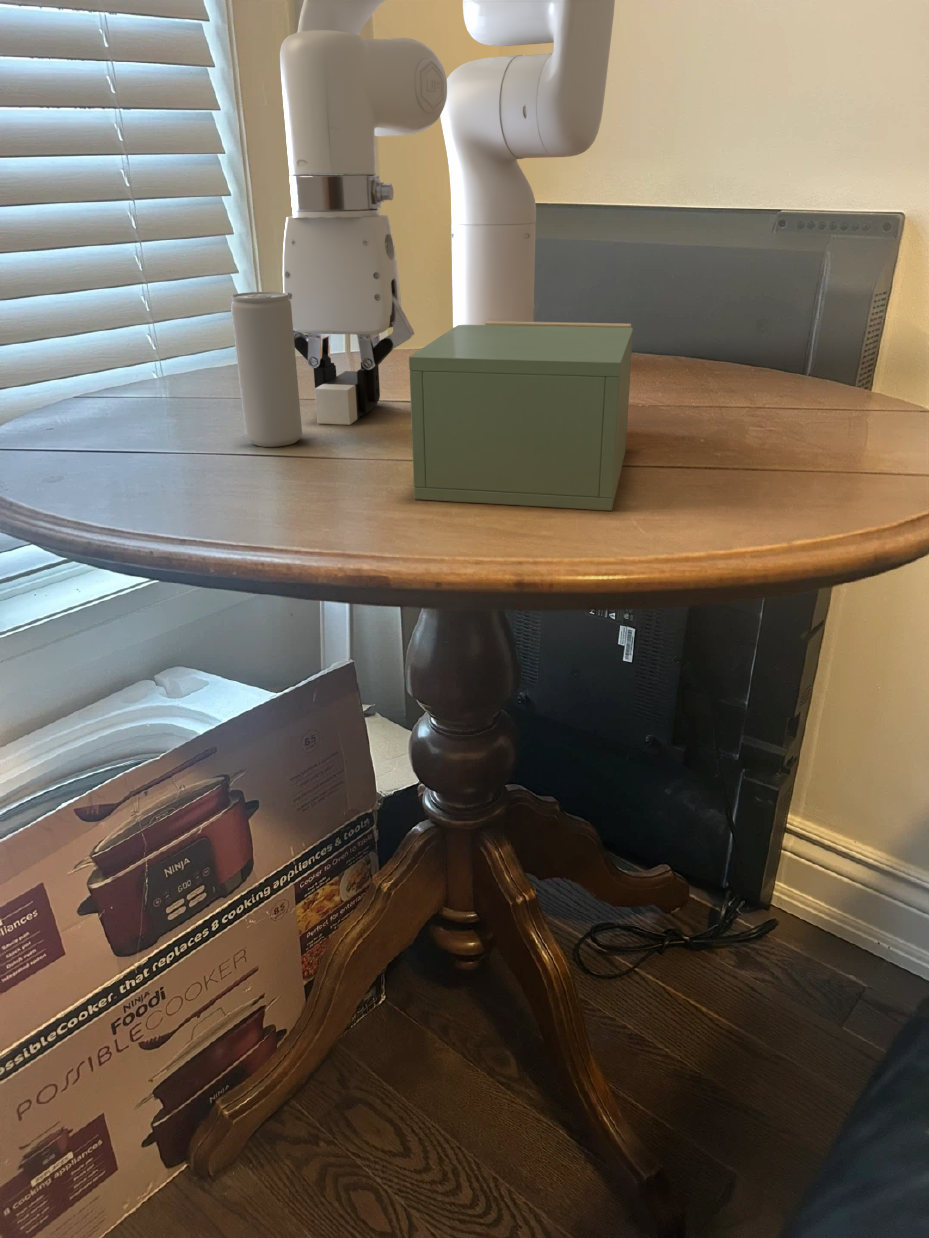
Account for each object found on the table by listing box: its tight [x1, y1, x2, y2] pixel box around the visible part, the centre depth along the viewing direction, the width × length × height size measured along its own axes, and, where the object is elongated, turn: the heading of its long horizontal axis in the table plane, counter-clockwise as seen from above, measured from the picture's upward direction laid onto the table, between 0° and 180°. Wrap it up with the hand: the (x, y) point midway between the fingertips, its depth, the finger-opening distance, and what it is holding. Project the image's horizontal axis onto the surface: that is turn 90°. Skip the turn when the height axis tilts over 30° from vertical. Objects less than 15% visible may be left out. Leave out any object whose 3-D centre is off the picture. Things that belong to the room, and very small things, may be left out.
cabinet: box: [408, 325, 634, 512], centre depth 68 cm, size 15×14×10 cm
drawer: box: [485, 321, 632, 328], centre depth 79 cm, size 18×13×8 cm
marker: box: [314, 370, 378, 426], centre depth 88 cm, size 9×3×3 cm, turn 168°
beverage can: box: [230, 291, 303, 448], centre depth 77 cm, size 5×5×12 cm
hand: (348, 406), depth 89 cm, fingers closed on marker, 3 cm apart
